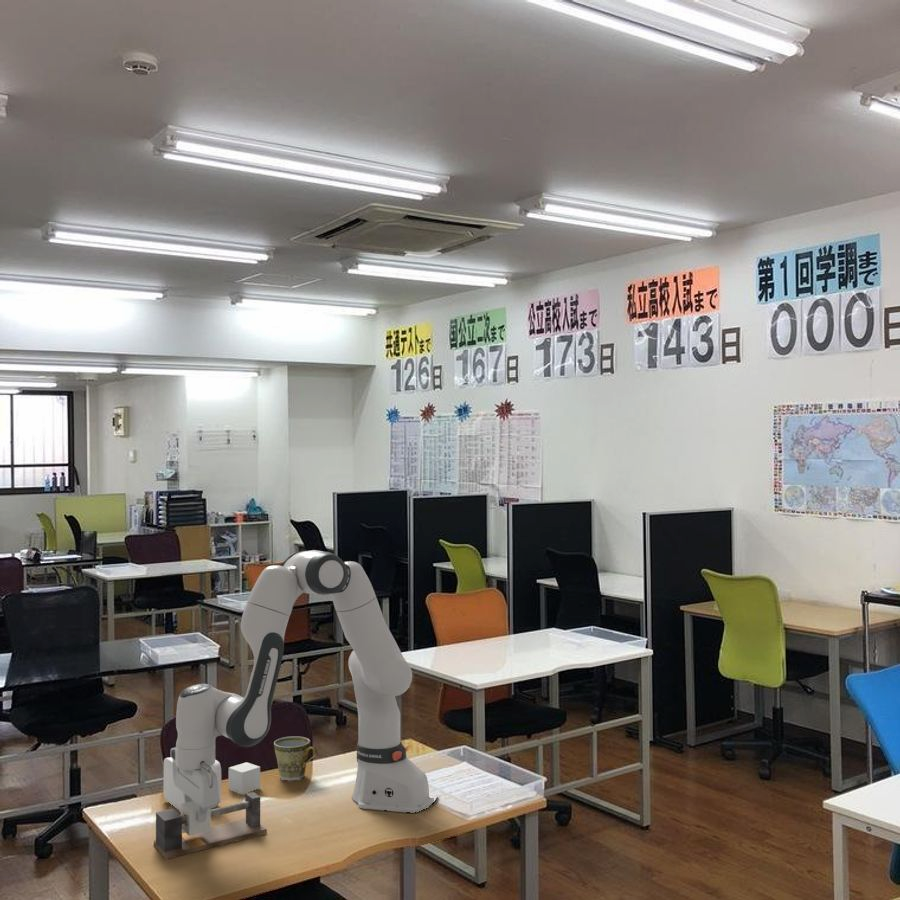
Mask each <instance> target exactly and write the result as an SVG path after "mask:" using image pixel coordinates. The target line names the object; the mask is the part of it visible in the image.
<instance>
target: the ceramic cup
mask: <svg viewBox="0 0 900 900" xmlns="http://www.w3.org/2000/svg"><path fill="white" fill-rule="evenodd" d="M310 745H311V740H310V739H309V738H307V737H304V736H285V737H281V738H278V739H276V740H274V742H273V747H274V753H275V758H276V761H277V763H276V764H277V767H278V774H279V778H280V780H282V779H283V780H282V781H284V780H297V781H300V780H299V779H301V778H302V779H304V778H305V773H306V767H307V764H308V763H309V762H310V761H312V759H314V758H315V757H316V756H317V754H318V752H317V749H316V747H315V746H310ZM310 750H313V751H314V755H313V756H312V757H310V758H309V759H308V756H309V751H310ZM303 777H304V778H303ZM302 779H301V780H302Z"/></svg>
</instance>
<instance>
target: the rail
mask: <svg viewBox="0 0 900 900" xmlns="http://www.w3.org/2000/svg"><path fill="white" fill-rule="evenodd" d="M243 810H245V818H243V819H238V820H233V821H230V822H227V823H221V824H218V825H214V826H211V831H207V832H203V833H199V834H195V835H191V836H189V835H188V834H187V833H186V832H183V829H182V824H184V823H187V816H181V813H178V812H177V810H175V809H174V808H170V809H165V810H161V811H157V812H155V840H154V841H153V846H154V848H156V849H157V850H158V851H159V852H160V854H163V855H164V856H163V855H162V856H163V857H164V858H165V859H166V858H169V859H171V858H175V857H176V858H177V857H180V856H183V855H187V854H192V853H195V852H199V851H203V850H207V849H211V848H214V846H215V847H218V845H219V846H222V845H221V844H223V845H226V844H225V843H227V844H229V842H231V843H234V842H233V841H235V842H238V841H237V840H239V841H242V840H246V839H249V837H250V838H254V837H258V836H261V835H260V834H262V835H265V834H264V833H266V834H267V831H268V830H267V828H266V827H265V826H264V825H262V824H261V796H260V795H258V794H257V793H256V792H255V791H252V792H249V793H246V794H245V801H243V802H239V803H235V804H231V805H230V804H229V805H227V806H221V807H217V808H211V818H213V817H217V816H218V817H219V816H222V815H226V814H231V813H235V812H239V811H243ZM257 835H258V836H257ZM245 838H246V839H245ZM210 847H211V848H210Z"/></svg>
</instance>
